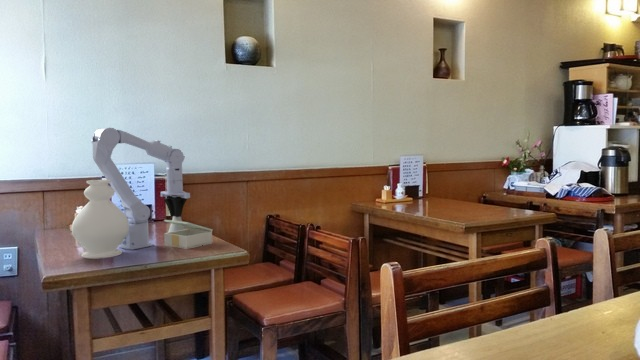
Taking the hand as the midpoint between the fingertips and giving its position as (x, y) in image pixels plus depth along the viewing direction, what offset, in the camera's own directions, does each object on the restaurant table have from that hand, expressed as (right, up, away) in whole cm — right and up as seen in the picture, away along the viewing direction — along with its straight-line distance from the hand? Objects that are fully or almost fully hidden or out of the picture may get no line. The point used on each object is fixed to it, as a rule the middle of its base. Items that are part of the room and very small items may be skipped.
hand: (175, 216), depth 197 cm
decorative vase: (-19, -12, -21) cm, 31 cm away
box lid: (+6, -3, -6) cm, 10 cm away
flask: (-5, -8, +18) cm, 21 cm away
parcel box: (+6, -10, -6) cm, 13 cm away
